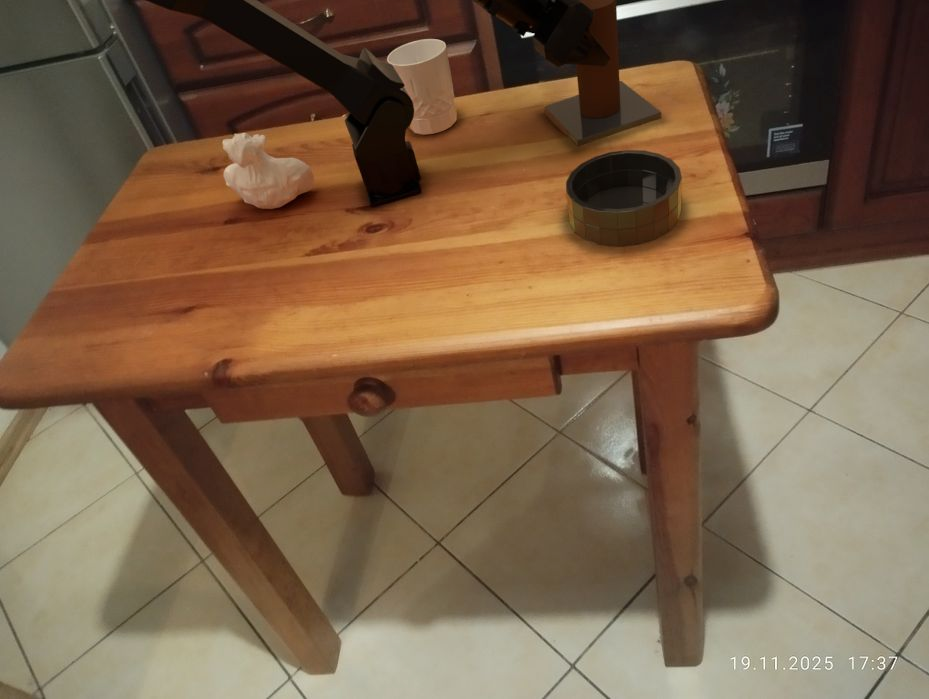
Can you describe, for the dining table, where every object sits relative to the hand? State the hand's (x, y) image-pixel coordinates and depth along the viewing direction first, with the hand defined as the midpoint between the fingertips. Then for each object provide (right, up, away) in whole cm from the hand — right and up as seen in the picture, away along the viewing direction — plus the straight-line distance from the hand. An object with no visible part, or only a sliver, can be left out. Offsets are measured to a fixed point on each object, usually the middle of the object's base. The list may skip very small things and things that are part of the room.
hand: (590, 49), depth 80 cm
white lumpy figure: (-39, -17, +8) cm, 43 cm away
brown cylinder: (+2, -5, +5) cm, 8 cm away
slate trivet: (+2, -6, +6) cm, 9 cm away
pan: (+2, -22, -9) cm, 24 cm away
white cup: (-19, -4, +15) cm, 25 cm away
